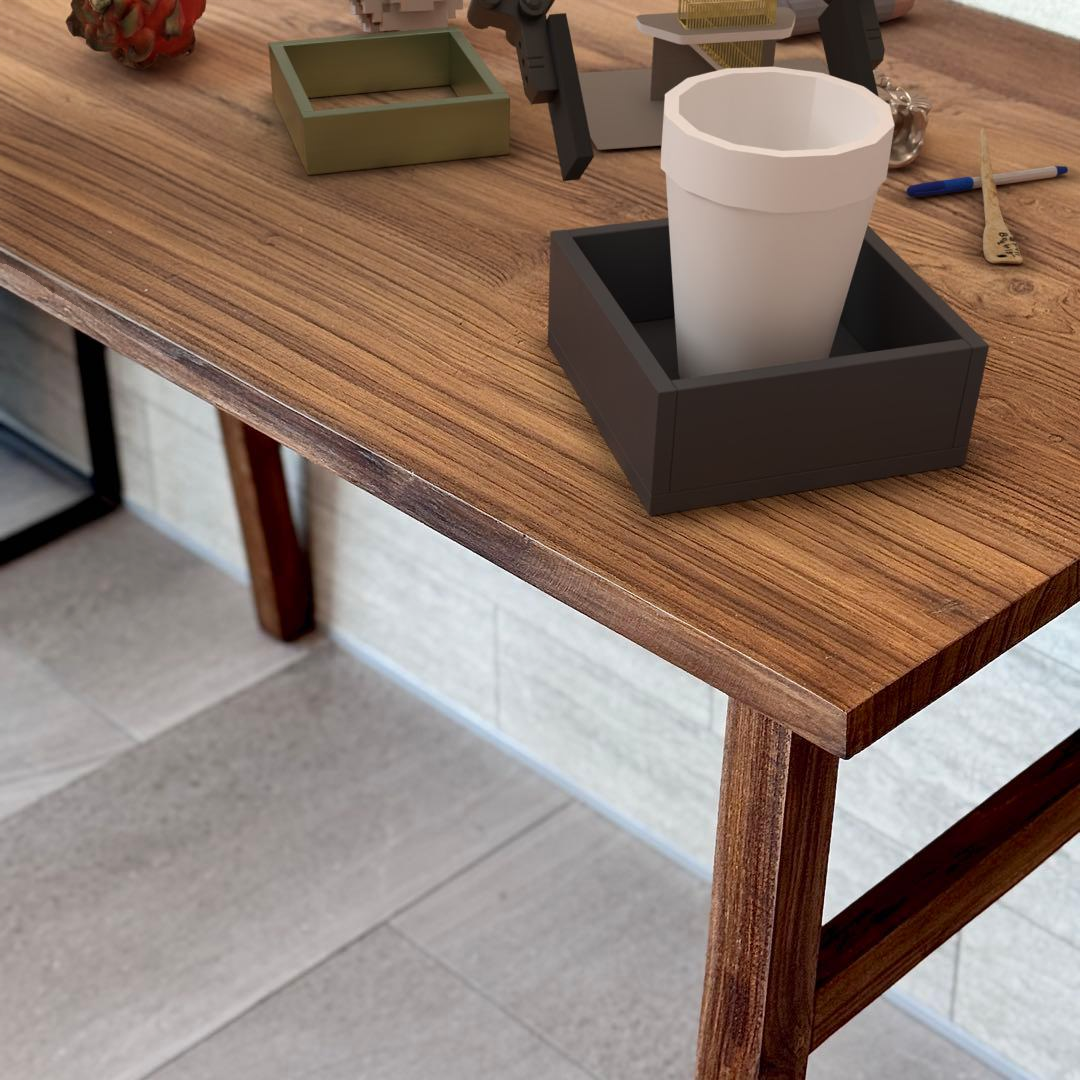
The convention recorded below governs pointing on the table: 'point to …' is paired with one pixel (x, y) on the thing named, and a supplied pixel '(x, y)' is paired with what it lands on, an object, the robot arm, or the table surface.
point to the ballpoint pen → (975, 182)
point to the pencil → (810, 5)
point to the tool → (994, 215)
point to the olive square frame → (389, 128)
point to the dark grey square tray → (759, 378)
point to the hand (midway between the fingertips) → (725, 155)
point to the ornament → (904, 119)
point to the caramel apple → (404, 14)
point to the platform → (684, 64)
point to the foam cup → (767, 211)
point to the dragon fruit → (136, 28)
